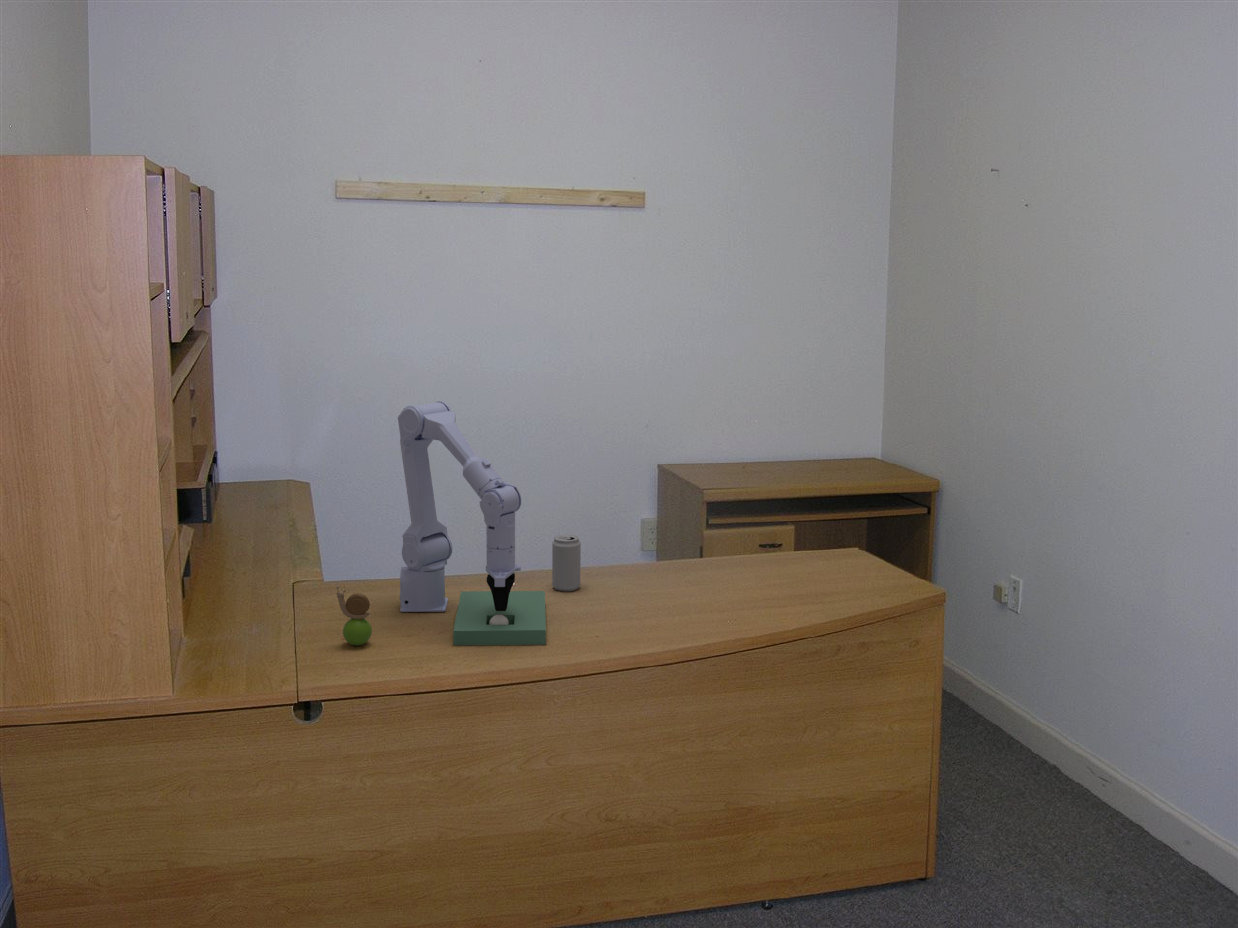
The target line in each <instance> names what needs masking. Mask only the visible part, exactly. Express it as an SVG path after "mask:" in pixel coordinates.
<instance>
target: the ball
mask: <svg viewBox="0 0 1238 928" xmlns="http://www.w3.org/2000/svg"><path fill="white" fill-rule="evenodd" d="M489 625H509V621H508V619H507V618H506V617H505V616H503V615H495V616H493V617H492V618H491V619H490V622H489Z"/></svg>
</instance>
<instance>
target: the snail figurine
mask: <svg viewBox="0 0 1238 928" xmlns="http://www.w3.org/2000/svg"><path fill="white" fill-rule="evenodd" d="M335 588H336V590H337V592H336V597H337V599H338V603H339V604H338V605H339V608H340V610H341V612H342V613H343V615H344V616H346V617H347V618H350V619H349V620H347V621H346V623H345V624H344V626H343V630H342V635H343V638H344V641H346V643H348V644H350V645H352V646H362V645H364V644H366V643H367V642H369V640H370V638H371V637H372V633H373V631H372V629H373V628H372V626H371V624H370V622H369V621H368V620H367V619H366V618H368V617H369V615H370V614H371V612H368V611H369V609H370V606H371V603H370V600H369V598H368V597H367V596H366V595H365V594H362V593H360V592H359V593H357V592H356V593H353V594H351V595H350V596H348V598H347V599H346V601H345V598H344V597H345V593H344V592H343V591H341V590H339V589H340V588H341V586H340V585H336V586H335Z"/></svg>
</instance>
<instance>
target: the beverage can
mask: <svg viewBox="0 0 1238 928" xmlns="http://www.w3.org/2000/svg"><path fill="white" fill-rule="evenodd" d="M551 544H552V546H551V549H552V551H551V552H552V555H551V556H552V558H551V559H552V561H551V562H552V564H551V565H552V567H551V568H552V570H551V573H552V574H551V575H552V576H551V577H552V578H551V585H552V587H553V588H554V589H555V590H557V591H559V592H574V591H576V590H577V589H578V588H579V587H580V586H581V559H582V558H581V550H582V549H581V541H580V537H579V536H578V535H575V534H559V535H556V536H554V537H553V541H552V543H551Z"/></svg>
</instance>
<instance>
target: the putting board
mask: <svg viewBox="0 0 1238 928" xmlns="http://www.w3.org/2000/svg"><path fill="white" fill-rule="evenodd" d="M495 615H503V616H505V617H506V618H507V619H508V621H509V625H489V622H490V619H491V618H492V617H493V616H495ZM546 617H547V616H546V592H545V590H510V594H509V599H508V605H507V609H506V611H496V610H495V606H494V601H493V596H492V592H491V590H490V591H489V590H488V591H487V590H485V591H484V590H483V591H482V590H479V591H478V590H477V591H476V590H475V591H467V590H466V591H465V590H463V591H461V592H460V595H459V601H458V605H457V611H456V614H455V620H454V625H453V631H452V635H453V636H452V643H453V646H520V645H521V646H532V645H533V646H538V645H539V646H541V645H547V641H546V640H547V626H546V625H547V623H546V622H547V621H546Z"/></svg>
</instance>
